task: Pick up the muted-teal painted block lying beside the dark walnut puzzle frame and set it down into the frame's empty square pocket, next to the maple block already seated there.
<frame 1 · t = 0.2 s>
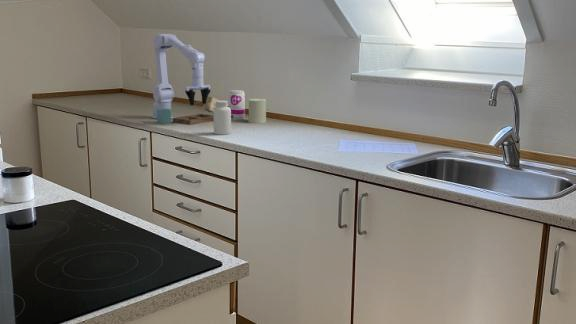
hand: (198, 104, 305), 10 cm above the worktop, fingers open, 7 cm apart
supplement can: (237, 119, 324), on the worktop
walnut frame: (196, 120, 316), on the worktop
pill bottle: (222, 133, 282), on the worktop
teal block: (164, 123, 309), on the worktop
maple block: (209, 110, 323), point 4 cm above the worktop, tilted 23°
can: (257, 122, 316), on the worktop
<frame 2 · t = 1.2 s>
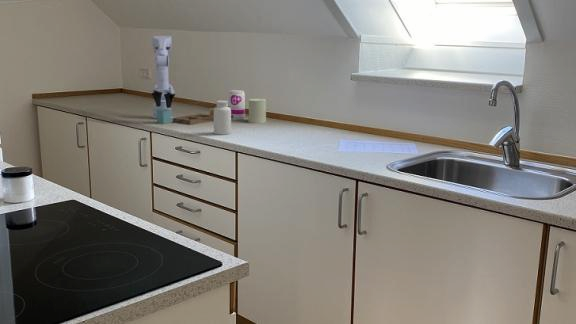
hand: (163, 107, 307), 8 cm above the worktop, fingers open, 7 cm apart
maple block: (212, 113, 325), point 2 cm above the worktop, tilted 90°
everything else where it was.
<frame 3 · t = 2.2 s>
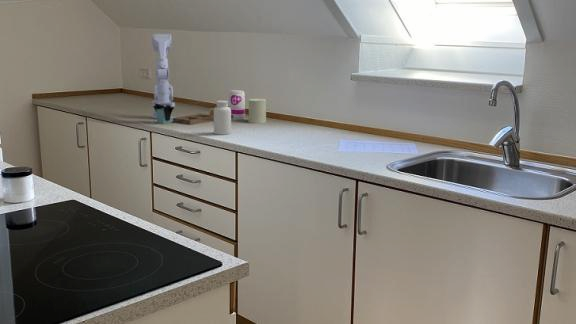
hand: (164, 119, 309), 2 cm above the worktop, fingers closed on teal block, 5 cm apart
teal block: (164, 122, 309), on the worktop, touching gripper
everything else where it was.
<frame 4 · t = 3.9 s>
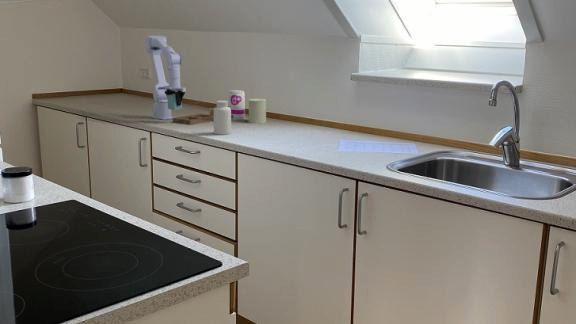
hand: (175, 105, 309), 9 cm above the worktop, fingers closed on teal block, 5 cm apart
teal block: (174, 108, 309), point 7 cm above the worktop, touching gripper
everything else where it was.
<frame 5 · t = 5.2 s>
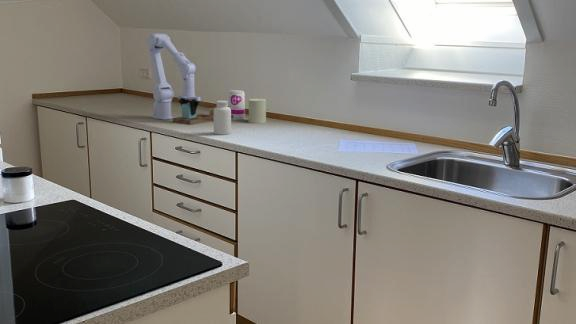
hand: (189, 113, 312), 4 cm above the worktop, fingers closed on teal block, 5 cm apart
teal block: (189, 117, 312), point 2 cm above the worktop, touching gripper
everything else where it was.
when the fingers open (3 cm above the worktop, at t = 5.9 s): teal block drops 1 cm, resting in walnut frame.
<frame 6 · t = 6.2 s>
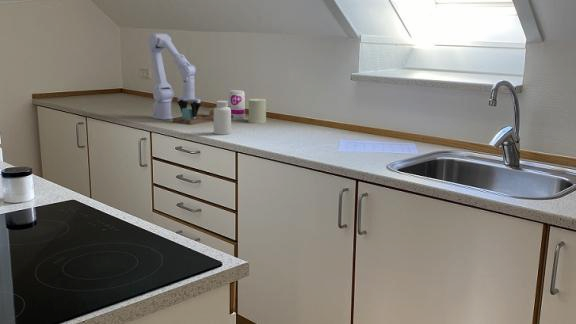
hand: (189, 116, 312), 3 cm above the worktop, fingers open, 7 cm apart
teal block: (189, 122, 313), resting in walnut frame
everything else where it was.
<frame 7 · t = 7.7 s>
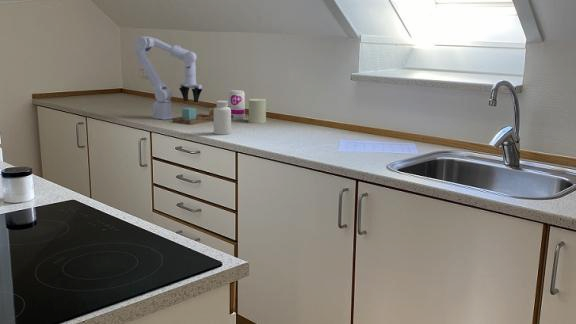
hand: (190, 101, 319), 9 cm above the worktop, fingers open, 7 cm apart
nothing on the worktop moved.
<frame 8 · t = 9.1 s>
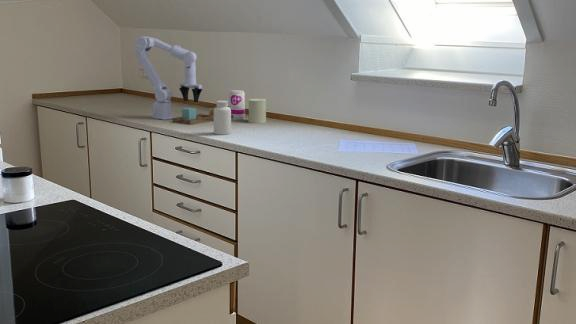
hand: (190, 101, 319), 9 cm above the worktop, fingers open, 7 cm apart
nothing on the worktop moved.
at the end: teal block 0.2 cm from the target spot on the walnut frame, point 0.0 cm above the walnut frame's base; teal block tilted 0°; the gripper is holding nothing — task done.
